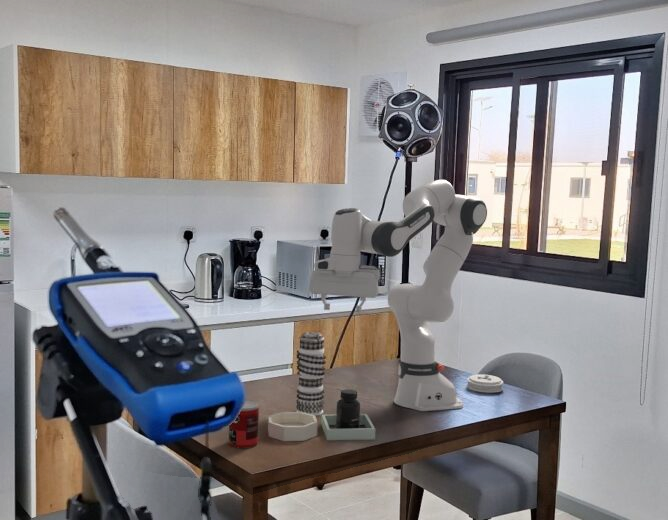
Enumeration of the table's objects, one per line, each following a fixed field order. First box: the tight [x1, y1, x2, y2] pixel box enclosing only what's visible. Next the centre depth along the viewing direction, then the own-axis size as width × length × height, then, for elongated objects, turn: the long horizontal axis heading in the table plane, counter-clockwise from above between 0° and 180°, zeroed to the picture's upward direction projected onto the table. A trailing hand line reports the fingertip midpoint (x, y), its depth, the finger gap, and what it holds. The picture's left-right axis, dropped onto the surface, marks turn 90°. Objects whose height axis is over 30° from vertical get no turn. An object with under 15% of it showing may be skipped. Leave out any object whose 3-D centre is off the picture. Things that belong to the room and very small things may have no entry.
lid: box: [466, 373, 504, 393], centre depth 261 cm, size 13×13×5 cm
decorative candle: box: [295, 331, 327, 417], centre depth 229 cm, size 9×9×25 cm
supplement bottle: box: [335, 389, 361, 429], centre depth 212 cm, size 7×7×12 cm
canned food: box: [228, 400, 260, 449], centre depth 200 cm, size 8×8×11 cm
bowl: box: [267, 411, 318, 442], centre depth 210 cm, size 14×14×4 cm
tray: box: [320, 413, 376, 441], centre depth 212 cm, size 14×14×3 cm
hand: (342, 310), depth 216 cm, fingers open, 8 cm apart
